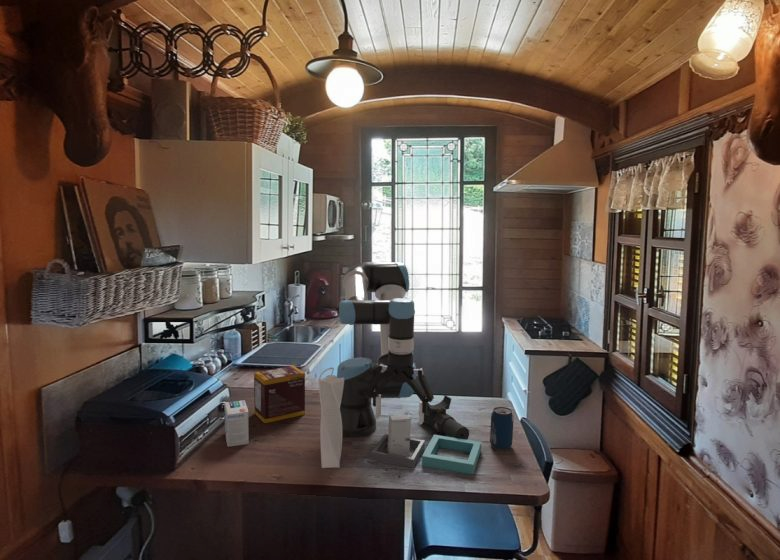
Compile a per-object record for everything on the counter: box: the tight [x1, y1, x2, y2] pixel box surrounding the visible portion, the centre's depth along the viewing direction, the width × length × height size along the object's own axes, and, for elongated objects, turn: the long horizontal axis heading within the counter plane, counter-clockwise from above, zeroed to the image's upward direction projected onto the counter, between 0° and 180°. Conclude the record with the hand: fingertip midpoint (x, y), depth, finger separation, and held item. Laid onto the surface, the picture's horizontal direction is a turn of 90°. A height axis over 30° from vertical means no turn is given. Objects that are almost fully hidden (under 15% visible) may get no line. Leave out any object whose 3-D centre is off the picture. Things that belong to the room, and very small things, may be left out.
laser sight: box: [423, 394, 470, 440], centre depth 175 cm, size 10×22×10 cm, turn 29°
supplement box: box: [253, 365, 306, 424], centre depth 186 cm, size 10×15×16 cm
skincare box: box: [387, 413, 412, 457], centre depth 158 cm, size 6×4×12 cm
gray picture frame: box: [370, 433, 426, 468], centre depth 159 cm, size 13×13×2 cm
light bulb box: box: [223, 399, 250, 448], centre depth 166 cm, size 11×7×11 cm, turn 22°
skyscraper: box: [317, 367, 344, 469], centre depth 151 cm, size 8×8×28 cm
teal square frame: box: [421, 434, 482, 476], centre depth 157 cm, size 15×15×3 cm
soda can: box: [489, 406, 515, 451], centre depth 164 cm, size 7×7×12 cm
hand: (399, 419), depth 157 cm, fingers open, 13 cm apart
